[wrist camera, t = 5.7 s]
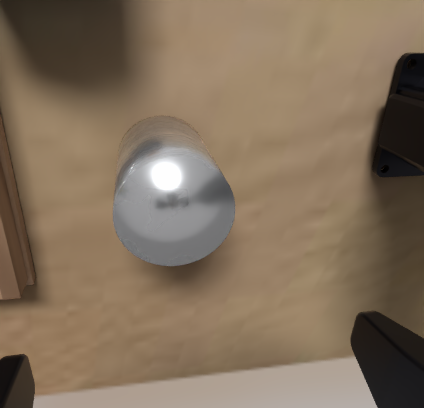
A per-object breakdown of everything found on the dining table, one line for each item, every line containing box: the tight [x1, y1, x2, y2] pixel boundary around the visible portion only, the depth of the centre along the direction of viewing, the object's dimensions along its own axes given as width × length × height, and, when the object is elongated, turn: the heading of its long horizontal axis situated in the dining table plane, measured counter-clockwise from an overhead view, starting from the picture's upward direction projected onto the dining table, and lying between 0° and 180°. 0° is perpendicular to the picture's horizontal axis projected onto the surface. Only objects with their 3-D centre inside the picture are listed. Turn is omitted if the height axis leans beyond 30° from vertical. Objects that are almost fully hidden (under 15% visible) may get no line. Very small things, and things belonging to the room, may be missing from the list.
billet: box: [113, 116, 235, 266], centre depth 16 cm, size 4×4×6 cm
